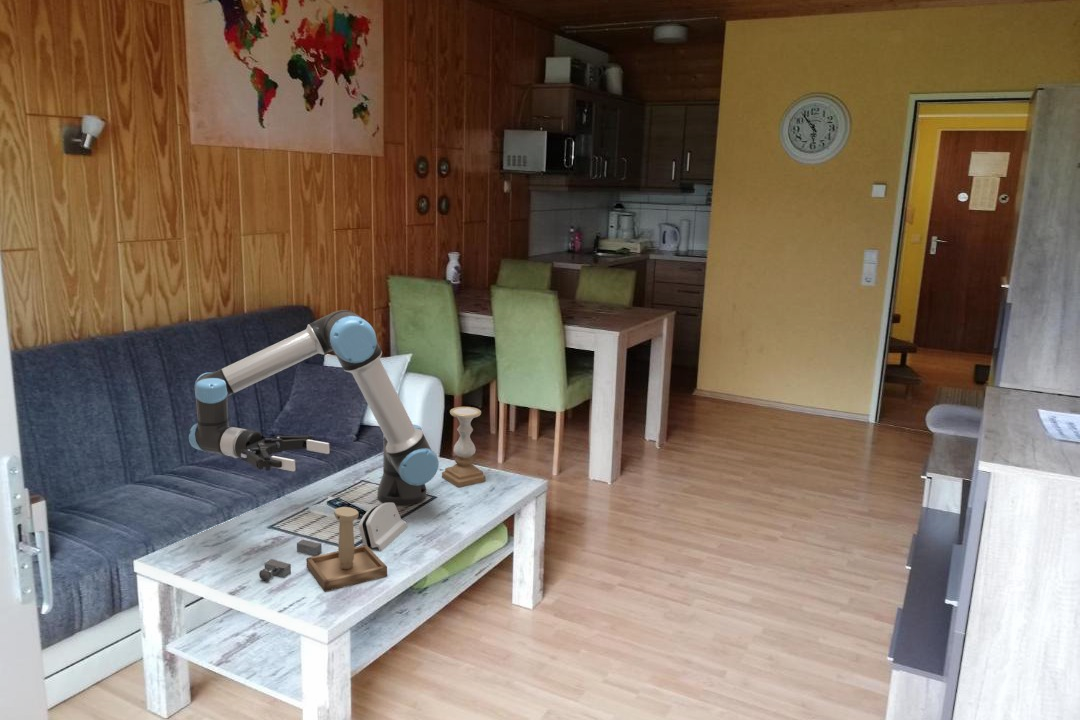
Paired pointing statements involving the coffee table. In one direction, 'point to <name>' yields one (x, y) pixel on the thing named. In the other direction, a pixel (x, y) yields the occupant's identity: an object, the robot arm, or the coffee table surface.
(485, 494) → the coffee table surface
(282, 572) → the vise jaw outer
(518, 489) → the coffee table surface
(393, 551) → the coffee table surface
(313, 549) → the block
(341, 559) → the handle
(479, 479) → the candle holder
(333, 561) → the tray
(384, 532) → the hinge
